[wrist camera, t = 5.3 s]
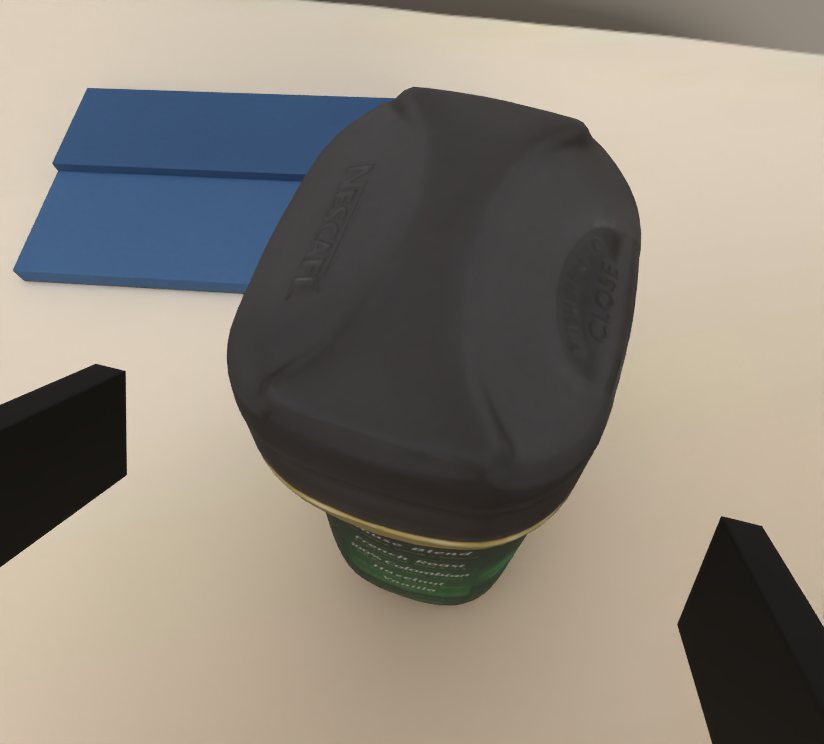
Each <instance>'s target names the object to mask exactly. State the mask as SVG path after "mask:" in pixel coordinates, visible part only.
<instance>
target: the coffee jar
mask: <svg viewBox="0 0 824 744" xmlns="http://www.w3.org/2000/svg"><path fill="white" fill-rule="evenodd" d="M640 251H641V228H640V219H639V213H638V208H637V205H636V202H635V199H634V197H633V194H632V192H631V189H630V187H629V185H628V183H627V182H626V180H625V178H624V176H623V175H622V173H621V171H620V170H619V168H618V167H617V165H616V164H615V162H614V161H613V160H612V159H611V157H610V156H609V155H608V153H607V152H606V151H605V150H604V149H603V147H602V146H601V145H600V144H599V143H598V142H597V141H596V140H595V139H593V137H592V136H591V134H590V132H589V130H588V128H587V127H586V126H585V124H584V123H583V122H581V121H579V120H577V119H574V118H571V117H567V116H563V115H560V114H556V113H552V112H548V111H544V110H540V109H536V108H532V107H528V106H524V105H520V104H516V103H512V102H507V101H503V100H498V99H493V98H488V97H483V96H477V95H471V94H465V93H459V92H453V91H446V90H438V89H430V88H420V87H412V88H409V89H407V90H405V91H403V92H402V93H401V94H400V95H399V96H398V97H397V98H396V99H393V100H391V101H388V102H385V103H384V104H382V105H380V106H378V107H376V108H374V109H373V110H371V111H369V112H367V113H366V114H364V115H362V116H361V117H360V118H358V119H357V120H355V121H354V122H352V123H351V124H349V125H348V126H347V127H346V128H344V129H343V130H342V131H341V132H339V133H338V134H337V135H336V136H335V137H334V138H333V139H332V140H331V142H330V143H329V144H328V145H327V146H326V147H325V148H324V149H323V150H322V152H321V153H320V154H319V155H318V157H317V158H316V160H315V161H314V163H313V164H312V166H311V167H310V169H309V171H308V172H307V174H306V175H305V177H304V179H303V180H302V182H301V184H300V185H299V187H298V189H297V190H296V192H295V194H294V195H293V197H292V199H291V201H290V203H289V205H288V206H287V208H286V210H285V212H284V213H283V215H282V217H281V219H280V220H279V222H278V224H277V226H276V228H275V230H274V232H273V234H272V236H271V237H270V239H269V241H268V243H267V245H266V247H265V249H264V252H263V254H262V256H261V258H260V260H259V262H258V265H257V267H256V269H255V271H254V273H253V275H252V278H251V280H250V282H249V285H248V287H247V289H246V291H245V294H244V296H243V298H242V301H241V303H240V305H239V307H238V310H237V313H236V315H235V318H234V321H233V323H232V326H231V329H230V334H229V339H228V344H227V365H228V375H229V379H230V383H231V387H232V390H233V393H234V397H235V400H236V403H237V405H238V408H239V410H240V412H241V414H242V416H243V418H244V419H245V421H246V423H247V425H248V427H249V429H250V432H251V434H252V436H253V439H254V441H255V443H256V445H257V447H258V450H259V451H260V453H261V454H262V456H263V458H264V460H265V462H266V463H267V465H268V466H269V467H270V469H271V470H272V471H273V473H274V474H275V475H276V476H277V477H278V478H279V479H280V480H281V481H282V482H283V483H284V484H285V485H286V486H287V487H288V488H289V489H290V490H292V491H293V492H294V493H295V494H297V495H298V496H300V497H301V498H302V499H304V500H305V501H307V502H309V503H310V504H312V505H314V506H315V507H317V508H319V509H321V510H323V511H324V512H326V514H327V517H328V520H329V524H330V527H331V530H332V533H333V536H334V538H335V541H336V543H337V545H338V548H339V550H340V551H341V553H342V555H343V557H344V559H345V560H346V562H347V563H348V565H349V566H350V567H351V568H352V569H353V570H354V571H355V572H356V573H357V574H358V575H360V576H361V577H362V578H364V579H365V580H367V581H369V582H370V583H372V584H374V585H376V586H378V587H380V588H383V589H385V590H388V591H390V592H393V593H396V594H398V595H401V596H404V597H407V598H410V599H413V600H417V601H421V602H425V603H430V604H437V605H458V604H463V603H466V602H469V601H472V600H474V599H476V598H478V597H479V596H481V595H482V594H484V593H485V592H486V591H487V590H488V589H490V588H491V586H492V585H493V584H494V583H495V582H496V580H497V579H498V578H499V577H500V575H501V574H502V572H503V571H504V569H505V568H506V566H507V565H508V563H509V562H510V560H511V559H512V557H513V555H514V553H515V552H516V550H517V549H518V547H519V546H520V544H521V543H522V541H523V540H524V538H525V537H526V535H527V534H528V533H530V532H532V531H533V530H535V529H536V528H538V527H539V526H541V525H542V524H543V523H544V522H546V521H547V520H548V519H549V518H550V517H552V516H553V515H554V514H555V513H556V512H557V511H558V509H559V508H560V507H561V506H562V504H563V503H564V502H565V501H566V499H567V498H568V496H569V495H570V493H571V491H572V489H573V488H574V486H575V484H576V483H577V481H578V479H579V477H580V475H581V474H582V472H583V470H584V468H585V467H586V465H587V463H588V461H589V459H590V458H591V456H592V454H593V452H594V450H595V449H596V447H597V445H598V444H599V441H600V439H601V436H602V434H603V431H604V429H605V427H606V424H607V421H608V418H609V415H610V412H611V409H612V406H613V402H614V397H615V393H616V389H617V386H618V383H619V379H620V375H621V371H622V367H623V363H624V359H625V355H626V350H627V346H628V342H629V338H630V332H631V327H632V321H633V314H634V307H635V298H636V290H637V280H638V268H639V256H640Z"/></svg>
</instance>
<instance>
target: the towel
mask: <svg viewBox="0 0 824 744" xmlns="http://www.w3.org/2000/svg"><path fill="white" fill-rule="evenodd" d="M393 99H396V98H369V97H339V96H309V95H279V94H249V93H219V92H189V91H159V90H129V89H99V88H87V90H86V92H85V94H84V96H83V99H82V101H81V103H80V105H79V107H78V109H77V111H76V114H75V116H74V118H73V120H72V122H71V124H70V126H69V129H68V131H67V133H66V135H65V137H64V139H63V141H62V144H61V146H60V148H59V150H58V152H57V154H56V156H55V159H54V161H53V165H54V166H55V168H56V169H57V170H58V173H57V175H56V177H55V179H54V181H53V184H52V186H51V188H50V190H49V192H48V195H47V197H46V199H45V201H44V203H43V206H42V208H41V210H40V212H39V214H38V216H37V219H36V221H35V223H34V225H33V227H32V230H31V232H30V234H29V236H28V238H27V240H26V243H25V245H24V247H23V249H22V251H21V254H20V256H19V258H18V260H17V262H16V264H15V267H14V269H13V271H14V272H15V273H16V274H17V275H18V276H19V277H20V278H22V279H23V280H25V281H42V282H59V283H76V284H93V285H110V286H127V287H144V288H161V289H178V290H195V291H212V292H229V293H245V291H246V289H247V287H248V285H249V282H250V280H251V278H252V275H253V273H254V271H255V269H256V267H257V265H258V262H259V260H260V258H261V256H262V254H263V252H264V249H265V247H266V245H267V243H268V241H269V239H270V237H271V236H272V234H273V232H274V230H275V228H276V226H277V224H278V222H279V220H280V219H281V217H282V215H283V213H284V212H285V210H286V208H287V206H288V205H289V203H290V201H291V199H292V197H293V195H294V194H295V192H296V190H297V189H298V187H299V185H300V184H301V182H302V180H303V179H304V177H305V175H306V174H307V172H308V171H309V169H310V167H311V166H312V164H313V163H314V161H315V160H316V158H317V157H318V155H319V154H320V153H321V152H322V150H323V149H324V148H325V147H326V146H327V145H328V144H329V143H330V142H331V140H332V139H333V138H334V137H335V136H336V135H337V134H338V133H339V132H341V131H342V130H343V129H344V128H346V127H347V126H348V125H349V124H351V123H352V122H354V121H355V120H357V119H358V118H360V117H361V116H362V115H364V114H366V113H367V112H369V111H371V110H373V109H374V108H376V107H378V106H380V105H382V104H384V103H385V102H388V101H391V100H393Z"/></svg>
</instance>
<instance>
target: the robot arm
mask: <svg viewBox="0 0 824 744" xmlns="http://www.w3.org/2000/svg"><path fill="white" fill-rule="evenodd" d="M126 475H127V451H126V371H123V370H119V369H115V368H111V367H107V366H102V365H98V364H94V365H92V366H90V367H87V368H85V369H83V370H80V371H78V372H76V373H73V374H71V375H69V376H66V377H64V378H62V379H59V380H57V381H55V382H52V383H50V384H48V385H45V386H43V387H41V388H39V389H36V390H34V391H32V392H29V393H27V394H25V395H22V396H20V397H18V398H15V399H13V400H11V401H8V402H6V403H4V404H1V405H0V567H1V566H2V565H4V564H5V563H7V562H8V561H9V560H11V559H12V558H13V557H15V556H16V555H18V554H19V553H20V552H22V551H23V550H24V549H26V548H27V547H29V546H30V545H31V544H33V543H34V542H35V541H37V540H38V539H40V538H41V537H42V536H44V535H45V534H46V533H48V532H49V531H51V530H52V529H53V528H55V527H56V526H57V525H59V524H60V523H62V522H63V521H64V520H66V519H67V518H68V517H70V516H71V515H73V514H74V513H75V512H77V511H78V510H79V509H81V508H82V507H84V506H85V505H86V504H88V503H89V502H90V501H92V500H93V499H94V498H96V497H97V496H99V495H100V494H101V493H103V492H104V491H105V490H107V489H108V488H110V487H111V486H112V485H114V484H115V483H116V482H118V481H119V480H121V479H122V478H123V477H125V476H126ZM677 625H678V628H679V632H680V635H681V638H682V642H683V645H684V649H685V652H686V655H687V659H688V662H689V666H690V669H691V672H692V676H693V679H694V683H695V686H696V690H697V693H698V696H699V700H700V703H701V707H702V710H703V713H704V717H705V720H706V724H707V727H708V730H709V734H710V737H711V741H712V744H824V627H823V625H822V623H821V622H820V620H819V618H818V617H817V615H816V614H815V612H814V610H813V609H812V607H811V605H810V604H809V602H808V600H807V599H806V597H805V596H804V594H803V592H802V591H801V589H800V587H799V586H798V584H797V583H796V581H795V579H794V578H793V576H792V574H791V573H790V571H789V569H788V568H787V566H786V565H785V563H784V561H783V560H782V558H781V556H780V555H779V553H778V551H777V550H776V548H775V547H774V545H773V543H772V542H771V540H770V538H769V537H768V535H767V534H766V532H765V530H764V529H763V527H762V526H759V525H755V524H751V523H747V522H743V521H739V520H735V519H731V518H727V517H722V516H721V518H720V521H719V523H718V526H717V528H716V530H715V533H714V535H713V538H712V540H711V543H710V545H709V548H708V550H707V553H706V555H705V558H704V560H703V562H702V565H701V567H700V570H699V572H698V575H697V577H696V580H695V582H694V585H693V587H692V590H691V592H690V594H689V597H688V599H687V602H686V604H685V607H684V609H683V612H682V614H681V617H680V619H679V622H678V624H677Z"/></svg>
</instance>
